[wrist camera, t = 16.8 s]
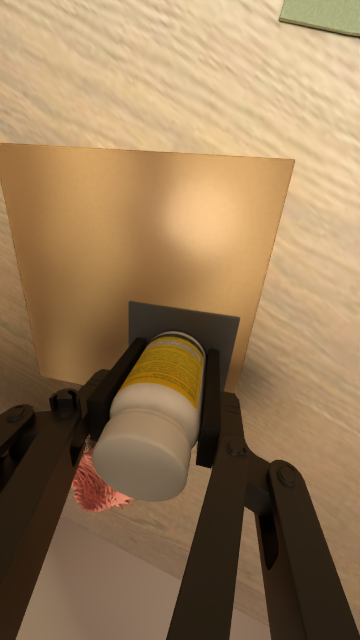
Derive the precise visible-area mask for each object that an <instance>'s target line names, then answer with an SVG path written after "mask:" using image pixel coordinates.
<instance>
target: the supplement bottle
mask: <svg viewBox="0 0 360 640" xmlns="http://www.w3.org/2000/svg"><path fill="white" fill-rule="evenodd" d="M205 376H206V355H205V352H204V350H203V348H202V347H201V345H200V344H199V343H198V342H197V341H196V340H195V339H194V338H193V337H191V336H189V335H187V334H185V333H182V332H176V331H171V332H165V333H162V334H159V335H157V336H156V337H154V338H153V339H152V340H151V341H150V342H149V344H148V345H147V347H146V348H145V350H144V351H143V353H142V355H141V356H140V358H139V359H138V361H137V363H136V364H135V366H134V367H133V369H132V370H131V372H130V374H129V375H128V377H127V378H126V380H125V382H124V383H123V385H122V386H121V388H120V389H119V391H118V392H117V394H116V396H115V398H114V400H113V402H112V404H111V408H110V420H109V422H108V423H107V424H106V425H105V427H104V429H103V432H102V434H101V436H100V438H99V440H98V442H97V444H96V445H95V448H94V450H93V454H92V462H93V466H94V468H95V471H96V472H97V474H98V475H99V476H100V478H101V479H102V480H103V481H104V482H105V483H106V484H108V485H109V486H110V487H111V488H113V489H114V490H116V491H118V492H120V493H122V494H124V495H126V496H128V497H131V498H134V499H138V500H143V501H164V500H168V499H171V498H174V497H175V496H177V495H178V494H180V493H181V492H182V490H183V489H184V487H185V485H186V481H187V476H188V469H189V462H190V457H191V449H192V448H193V447H194V446H195V444H196V442H197V440H198V438H199V435H200V431H201V424H202V411H203V399H204V388H205Z"/></svg>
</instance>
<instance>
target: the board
mask: <svg viewBox="0 0 360 640" xmlns="http://www.w3.org/2000/svg"><path fill="white" fill-rule="evenodd" d="M294 163H295V160H294V159H280V158H262V157H244V156H226V155H209V154H191V153H173V152H155V151H137V150H120V149H102V148H84V147H66V146H48V145H30V144H13V143H0V180H1V185H2V190H3V195H4V199H5V204H6V209H7V214H8V219H9V224H10V228H11V233H12V238H13V243H14V248H15V253H16V257H17V262H18V267H19V272H20V277H21V282H22V287H23V291H24V296H25V301H26V306H27V311H28V316H29V320H30V325H31V330H32V335H33V340H34V345H35V349H36V354H37V359H38V364H39V369H40V374H41V376H42V377H46V378H51V379H56V380H61V381H66V382H71V383H76V384H80V385H85V384H86V382H87V381H88V380H90V378H91V377H92V376H93V375H94V373H96V372H97V371H99V370H101V369H107V370H111V369H112V367H113V366H114V365H115V364H116V362H117V361H118V360H119V359H120V357H121V356H122V355H123V354H124V352H125V351H126V350H127V349H128V347H129V346H130V345H131V344H132V342H133V341H134V340H135V339H136V337H138V338H144V339H146V347H147V345H148V344H149V342H150V341H151V340H152V339H153V338H154V337H156V336H157V335H159V334H162V333H165V332H171V331H176V332H182V333H185V334H187V335H189V336H191V337H193V338H194V339H195V340H196V341H197V342H198V343H199V344H200V345H201V347H202V348H203V350H204V352H205V355H206V364H207V358H208V353H209V350H215V351H219V354H220V391H225V392H230V393H236V389H237V385H238V381H239V377H240V373H241V370H242V366H243V362H244V358H245V354H246V350H247V346H248V342H249V338H250V335H251V331H252V327H253V323H254V319H255V315H256V311H257V307H258V303H259V300H260V296H261V292H262V288H263V284H264V280H265V276H266V272H267V268H268V265H269V261H270V257H271V253H272V249H273V245H274V241H275V237H276V233H277V230H278V226H279V222H280V218H281V214H282V210H283V206H284V202H285V198H286V195H287V191H288V187H289V183H290V179H291V175H292V171H293V167H294Z"/></svg>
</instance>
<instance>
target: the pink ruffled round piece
mask: <svg viewBox="0 0 360 640" xmlns="http://www.w3.org/2000/svg"><path fill="white" fill-rule="evenodd" d="M93 450H94V448H93V449H90V450H89V451H88V452H87V453H84V454H83V455H82V457H81V460H80V463H79V466H78V468H77V471H76V474H75V477H74V479H73V482H72V485H71V486H73V488H74V489H75V491H74V493H75V495H74V496H73V497H75V498H76V502H78V503H79V504H78V505H80V507H81V508H82V509H84V510H86V511H87V512H88V511H89V512H92V513H93V512H98V511H99V512H102V511H103V510H104V509H108V508H109V507H110V509H112V506H113V505H116V506H118V507H120V508H122V509H123V506H122V505H121V503H127V504H129V505H131V506H132V504H131V503H130V502H129V501H128V500H129V499H134V498H131V497H128V496H126V495H124V494H122V493H120V492H118V491H116V490H114V489H113V488H111V487H110V486H109V485H108V484H106V483H105V482H104V481H103V480H102V479H101V478H100V476H99V475H98V474H97V472H96V471H95V468H94V466H93V462H92V454H93ZM135 500H137V499H135Z"/></svg>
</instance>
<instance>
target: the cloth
mask: <svg viewBox="0 0 360 640" xmlns="http://www.w3.org/2000/svg"><path fill="white" fill-rule="evenodd" d="M279 20H280V21H285V22H290V23H294V24H299V25H304V26H309V27H313V28H318V29H323V30H328V31H333V32H338V33H343V34H348V35H355V36H360V0H285V1H284V4H283V7H282V11H281V14H280V17H279Z"/></svg>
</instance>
